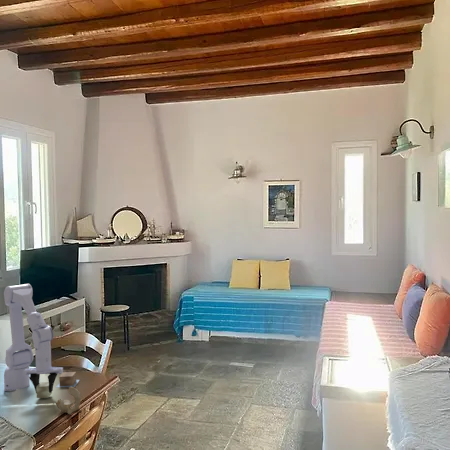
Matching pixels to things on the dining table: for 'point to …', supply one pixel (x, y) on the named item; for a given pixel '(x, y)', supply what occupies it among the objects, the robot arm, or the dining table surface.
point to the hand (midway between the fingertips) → (44, 391)
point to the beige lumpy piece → (67, 404)
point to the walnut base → (67, 378)
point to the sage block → (43, 390)
